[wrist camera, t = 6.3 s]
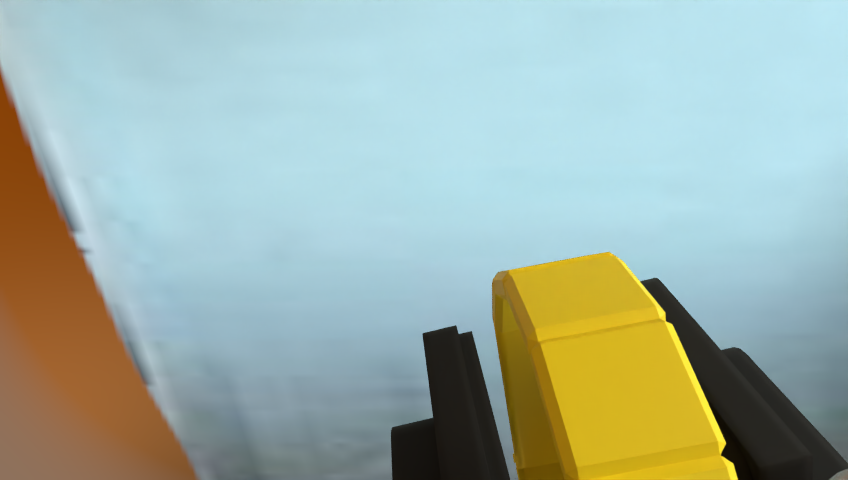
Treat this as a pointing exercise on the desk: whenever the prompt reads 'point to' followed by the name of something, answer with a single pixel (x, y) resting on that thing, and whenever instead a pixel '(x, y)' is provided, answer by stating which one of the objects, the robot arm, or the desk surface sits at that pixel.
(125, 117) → the desk surface
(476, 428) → the robot arm
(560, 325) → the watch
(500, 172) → the desk surface
